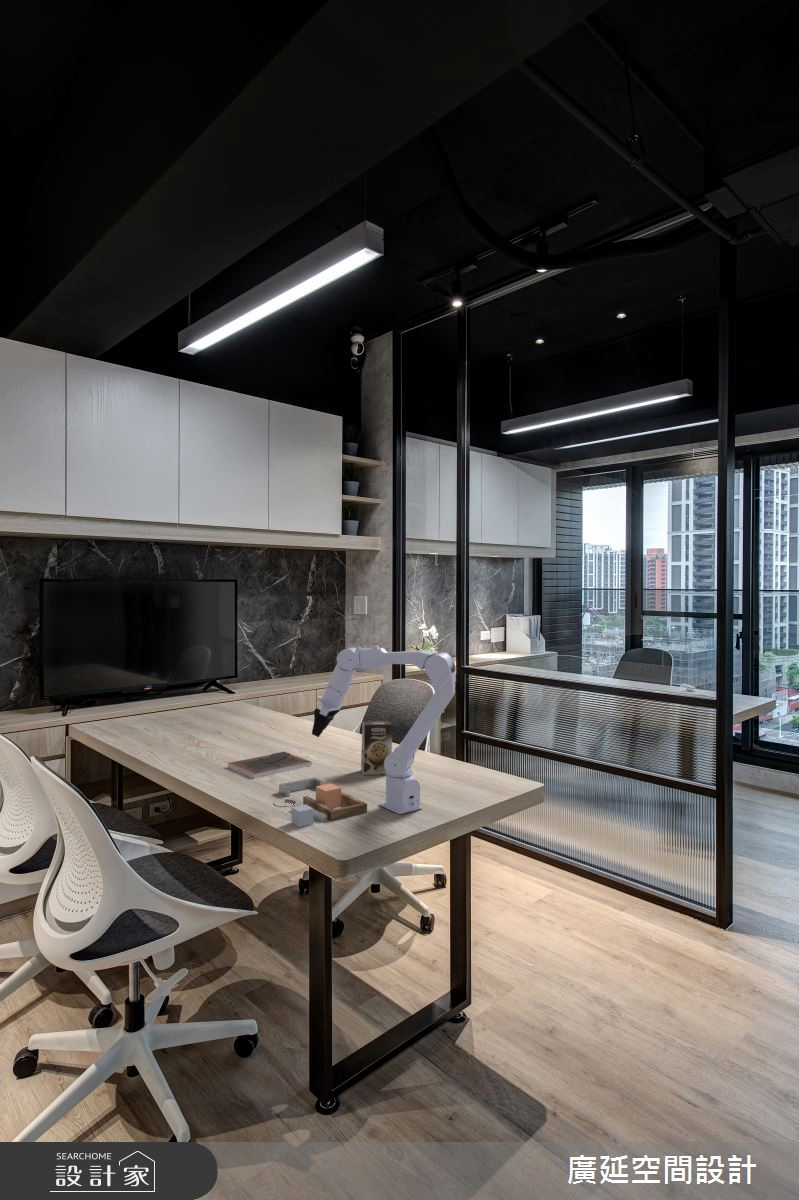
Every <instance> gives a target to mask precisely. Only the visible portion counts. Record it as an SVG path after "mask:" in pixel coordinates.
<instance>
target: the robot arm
mask: <svg viewBox="0 0 799 1200" xmlns="http://www.w3.org/2000/svg"><path fill="white" fill-rule="evenodd" d="M387 665H414V666H415V667H417V668H418V669H419V670H421V671H423V670H424V671H425V673H426V675H427V677H428V678H429V680H430V681H431V683H432V687H433V690H434V693H433V694H432V696H431V698H430V699H429V700H428V702H427V703H426V705H425V707H424V708H423V710H422V711H421V712H420V714H419V716H418V717H417V718H416V720H415V722H414V723H413V725H412V726H411V727H410V728H409V730H408V731H407V733H406V735H405V736H404V738H403V739H402V741H401V742H400V743H399V745H397V746H396V748H394V749H393V750H392V753H391V754H389V755H388V756H387V757H386V758H385V760H384V768H385V770H386V774H385V801H382V802H379V803H378V805H379V806H380V807H383V808H385V809H387V810H389V811H391V812H394V813H395V814H398V815H402V814H405V813H409V812H410V813H411V812H415V811H418V810H422V809H423V806H421V785H420V783H419V781H418V780H416V779H415V777H414V775H413V770H412V768H411V766H412V765H413V763H414V762H415V755H416V752H417V751H418V750H419V747H420V746H421V744H422V743H423V741H424V740H425V738H426V737H427V735H428V734H429V733H430V731H431V730H432V729H433V727H434V725H435V724H436V722H437V721H438V719H440V718H441V717H440V716H441V715H442V713H443V712H444V711H445V710H446V707H447V706H448V705H449V703H450V702H451V700H452V699H453V698H454V696H455V693H456V674H457V673H456V672H457V667H456V664H455V661H454V658H453V657H452V655H450V654H449V653H448V652H445V651H442V652H437V651H434V650H433V651H432V650H412V651H411V650H408V651H407V650H406V651H389V652H388V651H387V650H386V649H384V648H383V647H379V645H373V646H372V647H362V646H356V647H349V648H345V649H342V650H341V651H340V652H339V653H338V654H337V657H336V666H335V668H334V669H333V671H332V673H331V676H330V678H329V681H328V683H327V685H326V688H325V690H324V692H323V695H322V696H321V695H318V696H317V697H316V700H317V701H319V702H320V706H321V709H319V708H317V707H316V708H315V709H314V710H313V718H314V719H313V725H312V730H311V735H313V736H315V737H317V738H319V737H320V736H321V735H322V734H323V732H324V730H326V728H327V727H329V724H330V723H331V721H333V720H334V719H335V716H336V715H337V714H338V713H339V712H340V711H341V710H342V704H343V701H344V699H345V697H346V695H347V693H348V690H349V688H350V686H351V683H352V681H353V679H354V675H355V674H356V671H357V668H358V669H360V670H369V669H370V670H371V669H372V670H374V669H375V670H377V669H378V670H380V669H381V670H383V669H384V668H385V667H386V666H387Z"/></svg>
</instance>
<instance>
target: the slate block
mask: <svg viewBox="0 0 799 1200" xmlns="http://www.w3.org/2000/svg"><path fill="white" fill-rule="evenodd" d="M290 815H291V816H290V818H291V822H292V823H293V824H292V823H291V824H292V825H294V824H295V826H296V827H297V826H298V827H297V828H303V826H304V827H306V826H311V825H314V819H313V808H311V807H310V806H308V805H306V804H305V805H303V804H301V805H300V806H295V807H293V806H291V814H290Z"/></svg>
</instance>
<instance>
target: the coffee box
mask: <svg viewBox="0 0 799 1200" xmlns="http://www.w3.org/2000/svg"><path fill="white" fill-rule="evenodd" d="M361 722H362V723H361V725H362V727H361V729H362V731H361V732H362V733H361V762H360V763H361V765H360V768H361V769H360V771H361V772H362V775H363V776H379V775H380V776H382V775H381V774H384V775H386V770H385V768H384V760H385V758H386V757H387V756H388V755H389V754H391V753H392V752H393V724H392V722H391V721H390V720H369V721H365V720H363V721H361Z"/></svg>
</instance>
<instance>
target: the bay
mask: <svg viewBox="0 0 799 1200" xmlns="http://www.w3.org/2000/svg"><path fill="white" fill-rule="evenodd" d="M341 803H343V804H345V805H347V806H344V807H339V808H338V807H337V808H335V809H334V808H329V807H327V806H325V805H323V804H321V803H320V802H318V801H316V799H314V798H312V797H310V796H308V795H306V796H303V798H302V805H305V804H306V805H308V806H310V807H311V808H313V809H314V810H317V811H320V812H323V813H325V814H328V820H330V821H336V820H340V819H344V818H348V817H353V816H356V815H360V814H364V813H365V814H366V813H367V812H368V803H366V802H365V801H362V800H361V799H358V798H356V797H354V796H352V795H350V794H347V793H346V792H344V791H342V790H341Z"/></svg>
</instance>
